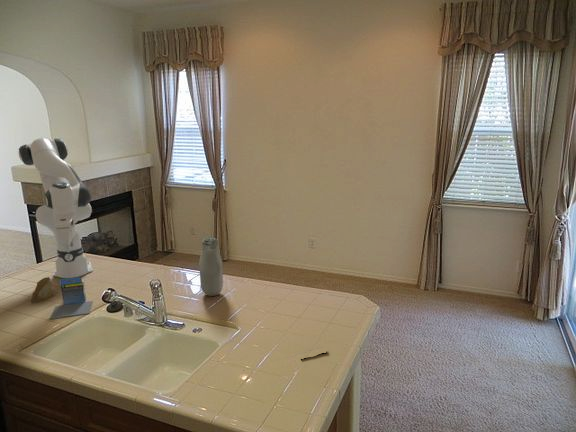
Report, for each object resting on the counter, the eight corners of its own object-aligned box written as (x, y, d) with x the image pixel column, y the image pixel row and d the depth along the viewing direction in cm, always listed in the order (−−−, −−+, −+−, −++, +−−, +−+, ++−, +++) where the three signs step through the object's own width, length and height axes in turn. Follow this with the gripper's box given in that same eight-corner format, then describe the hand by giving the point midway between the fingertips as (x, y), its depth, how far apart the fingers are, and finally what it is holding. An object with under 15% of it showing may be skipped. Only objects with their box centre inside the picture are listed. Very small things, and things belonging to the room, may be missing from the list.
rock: (31, 301, 181) (56, 292, 187) (24, 284, 183) (49, 275, 189) (32, 307, 190) (55, 298, 196) (25, 290, 192) (49, 282, 197)
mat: (55, 306, 181) (55, 306, 181) (92, 301, 186) (92, 301, 186) (49, 319, 170) (49, 318, 170) (89, 313, 175) (89, 312, 175)
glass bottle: (197, 297, 190) (193, 239, 183) (209, 288, 199) (206, 233, 192) (215, 300, 186) (212, 241, 179) (227, 291, 195) (224, 235, 188)
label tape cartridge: (86, 298, 189) (83, 273, 186) (85, 302, 185) (81, 277, 182) (64, 301, 186) (61, 276, 183) (63, 305, 183) (59, 279, 180)
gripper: (62, 214, 191) (66, 242, 195) (53, 225, 172) (58, 256, 176) (77, 213, 193) (81, 241, 196) (69, 224, 174) (74, 255, 178)
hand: (70, 248), depth 186 cm, fingers open, 6 cm apart
